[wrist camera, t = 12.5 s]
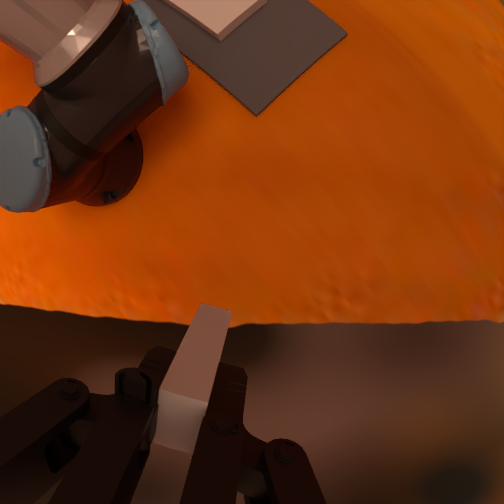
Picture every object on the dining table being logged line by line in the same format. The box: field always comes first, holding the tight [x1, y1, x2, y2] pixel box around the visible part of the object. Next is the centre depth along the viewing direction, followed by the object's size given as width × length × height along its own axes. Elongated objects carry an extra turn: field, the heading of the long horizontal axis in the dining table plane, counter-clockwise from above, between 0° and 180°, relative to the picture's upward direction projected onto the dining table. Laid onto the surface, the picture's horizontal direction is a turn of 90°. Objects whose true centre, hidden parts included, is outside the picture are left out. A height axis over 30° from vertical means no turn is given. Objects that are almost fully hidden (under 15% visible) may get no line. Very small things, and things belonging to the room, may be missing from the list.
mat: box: [143, 0, 348, 116], centre depth 40 cm, size 30×20×1 cm, turn 46°
